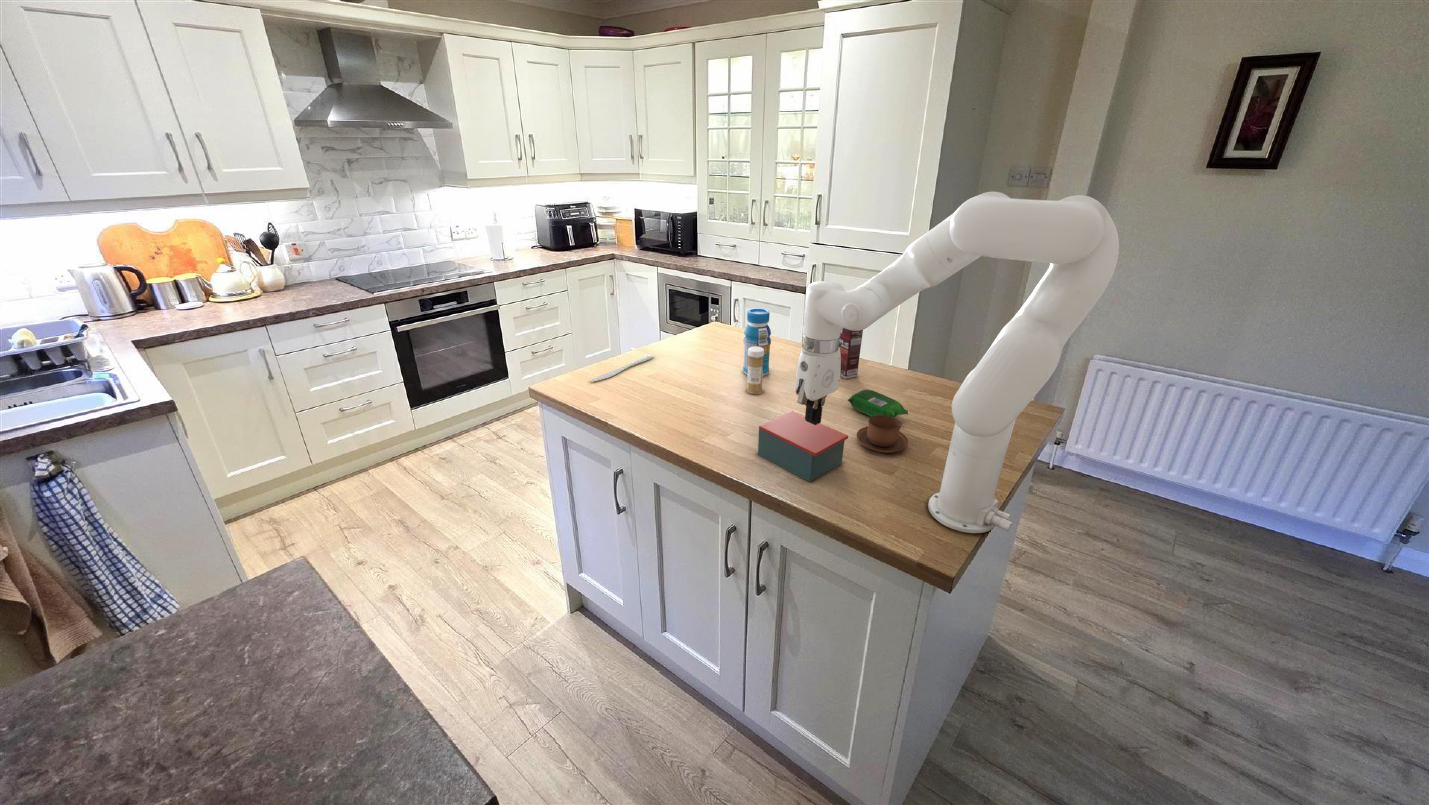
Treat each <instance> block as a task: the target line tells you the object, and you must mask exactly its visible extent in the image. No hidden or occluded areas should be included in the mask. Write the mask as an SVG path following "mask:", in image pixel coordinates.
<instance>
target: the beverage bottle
mask: <svg viewBox="0 0 1429 805" xmlns="http://www.w3.org/2000/svg"><path fill="white" fill-rule="evenodd" d="M746 321H747V323H748V324H746V327H745V328H744V332H743V333H744V338H743V367H742V371H743V373H744V374H745V375H747V376H748V349H749V348H750V347H754V346H757V347H762V348H763V349H764V356H763V377H764V376H766V375H768V374H769V373H770V354H771V352H770V351H771V344H772V339H771V335H772V331H771V328H770V325H769V324H768V323H769V322H770V311H769V310H768V309H766V308H761V307H759V308H750V309H748V310H747V313H746Z"/></svg>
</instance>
